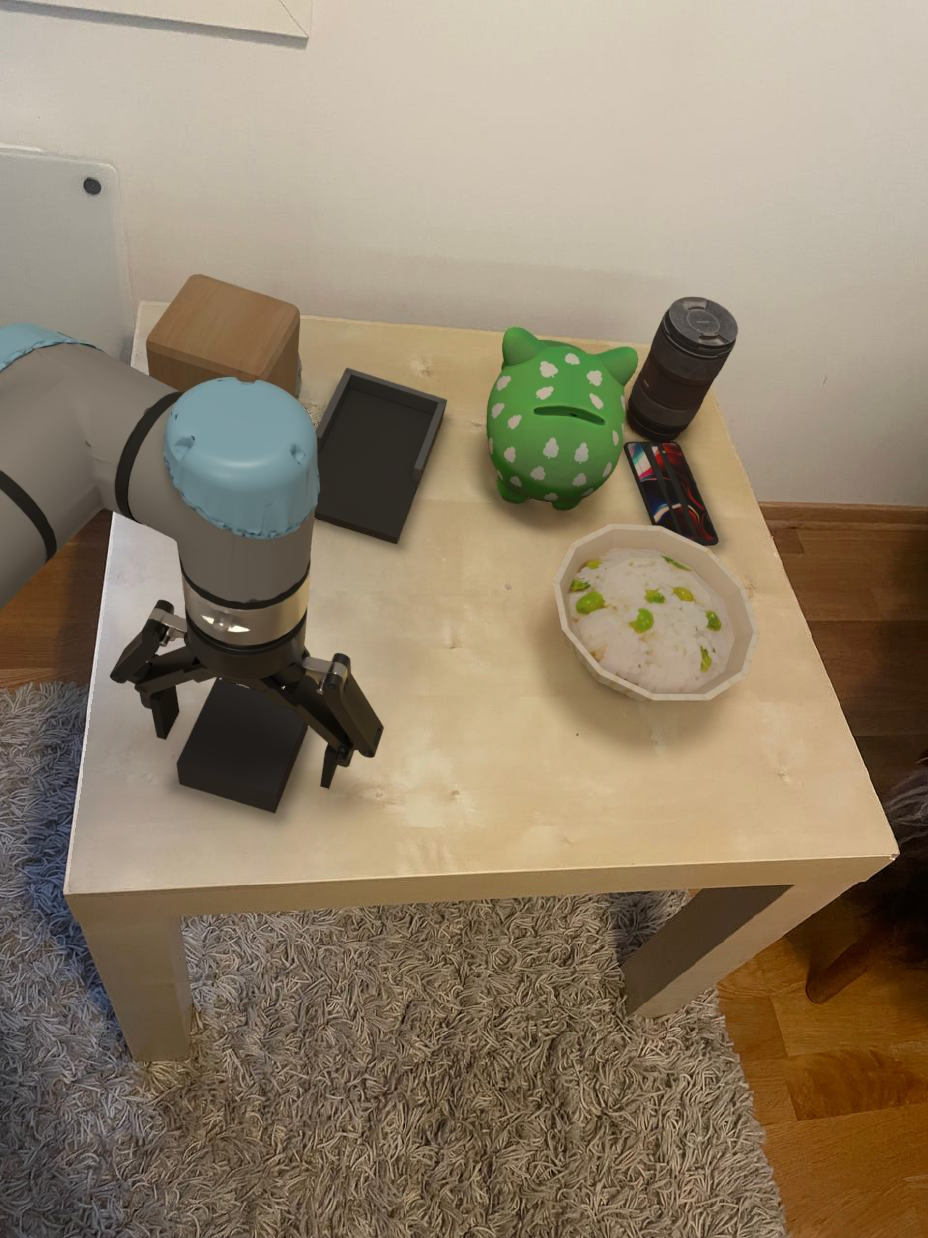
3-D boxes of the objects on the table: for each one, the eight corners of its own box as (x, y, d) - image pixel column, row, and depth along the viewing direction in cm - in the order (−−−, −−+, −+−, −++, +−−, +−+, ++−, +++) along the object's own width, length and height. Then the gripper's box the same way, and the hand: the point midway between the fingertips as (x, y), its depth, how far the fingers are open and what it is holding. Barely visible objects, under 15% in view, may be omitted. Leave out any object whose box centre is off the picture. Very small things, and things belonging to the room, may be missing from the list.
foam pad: (179, 784, 74) (176, 763, 71) (217, 700, 79) (216, 677, 75) (275, 813, 74) (276, 794, 71) (307, 728, 79) (310, 706, 76)
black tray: (396, 544, 92) (401, 525, 89) (286, 509, 91) (287, 489, 89) (442, 419, 102) (447, 399, 100) (343, 387, 102) (346, 366, 100)
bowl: (496, 596, 90) (521, 533, 82) (662, 561, 97) (701, 500, 89) (577, 773, 82) (614, 721, 73) (753, 721, 88) (805, 668, 80)
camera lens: (609, 400, 110) (655, 295, 97) (668, 395, 112) (720, 292, 100) (636, 451, 106) (687, 348, 93) (696, 444, 108) (754, 343, 96)
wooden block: (158, 503, 89) (139, 337, 72) (200, 433, 94) (191, 265, 78) (258, 535, 89) (262, 377, 73) (294, 463, 95) (304, 302, 78)
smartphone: (661, 546, 98) (622, 440, 106) (659, 549, 99) (620, 445, 106) (722, 543, 100) (679, 440, 108) (719, 547, 101) (677, 444, 108)
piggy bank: (593, 418, 107) (638, 313, 95) (603, 541, 97) (655, 441, 85) (472, 398, 105) (503, 288, 93) (470, 522, 95) (504, 416, 83)
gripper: (23, 587, 55) (79, 744, 73) (423, 708, 56) (383, 835, 73) (82, 498, 60) (121, 666, 77) (452, 611, 60) (408, 753, 77)
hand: (249, 749), depth 75 cm, fingers open, 13 cm apart
